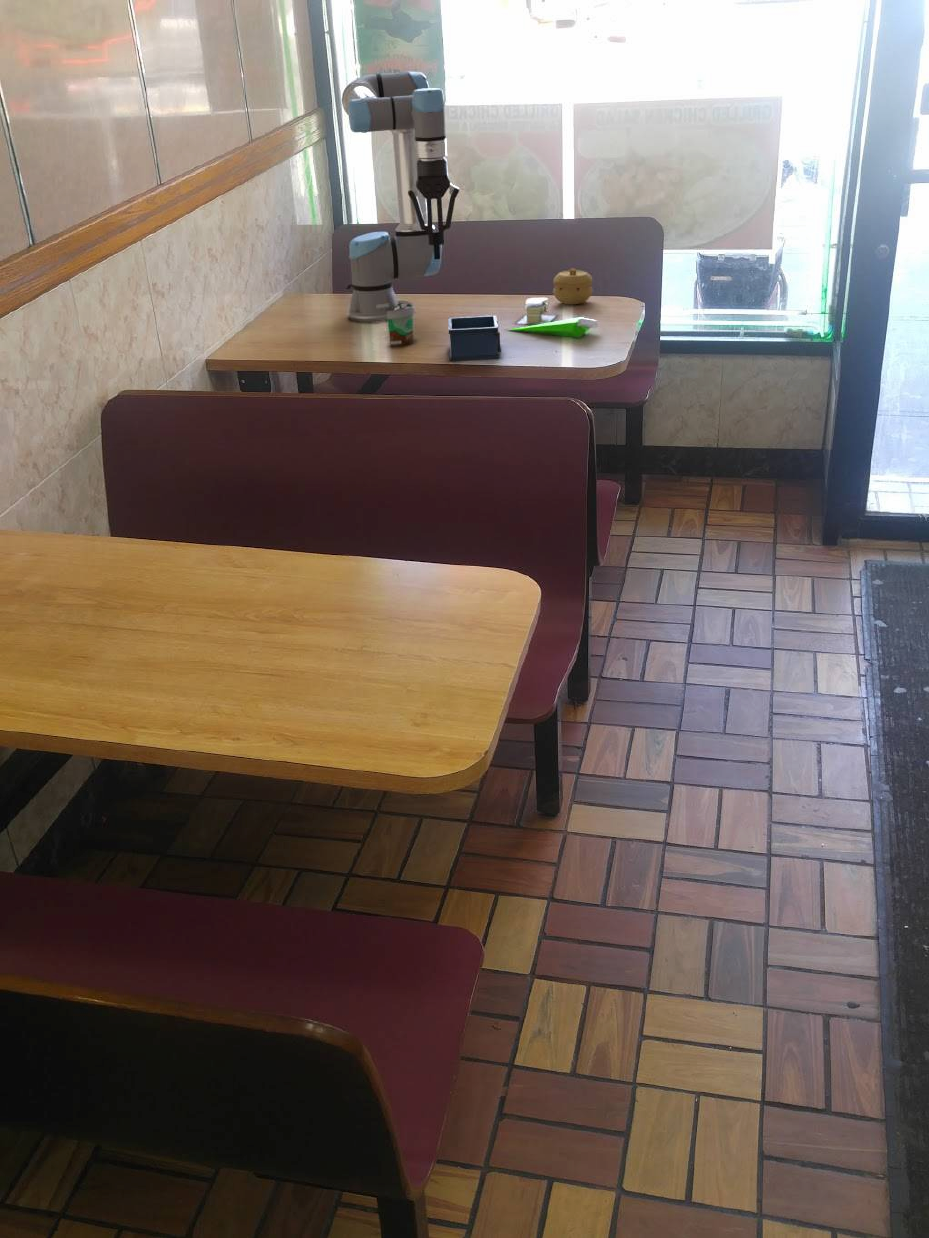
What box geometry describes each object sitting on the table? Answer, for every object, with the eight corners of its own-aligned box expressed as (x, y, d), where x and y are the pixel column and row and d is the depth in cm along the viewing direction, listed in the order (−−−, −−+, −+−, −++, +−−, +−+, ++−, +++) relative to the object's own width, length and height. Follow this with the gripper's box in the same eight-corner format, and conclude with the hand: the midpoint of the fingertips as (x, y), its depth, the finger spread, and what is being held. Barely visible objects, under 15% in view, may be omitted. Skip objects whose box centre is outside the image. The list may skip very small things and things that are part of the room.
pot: (545, 304, 339) (544, 270, 334) (571, 296, 345) (571, 262, 340) (574, 309, 331) (574, 275, 326) (600, 301, 338) (601, 267, 333)
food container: (411, 349, 302) (408, 311, 297) (389, 348, 303) (386, 311, 299) (422, 336, 313) (419, 300, 308) (400, 336, 314) (398, 300, 309)
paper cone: (498, 342, 310) (580, 335, 298) (497, 322, 309) (580, 314, 297) (517, 344, 320) (598, 338, 307) (516, 324, 319) (598, 317, 306)
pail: (448, 317, 298) (498, 314, 298) (449, 347, 302) (499, 344, 302) (448, 330, 286) (500, 327, 286) (450, 361, 290) (501, 358, 290)
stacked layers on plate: (546, 324, 317) (546, 305, 315) (516, 323, 320) (515, 304, 317) (556, 316, 325) (556, 296, 323) (526, 314, 328) (526, 295, 326)
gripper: (404, 162, 271) (411, 262, 283) (458, 159, 271) (463, 260, 283) (405, 158, 278) (411, 256, 289) (458, 155, 278) (462, 253, 289)
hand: (437, 258), depth 286 cm, fingers closed
